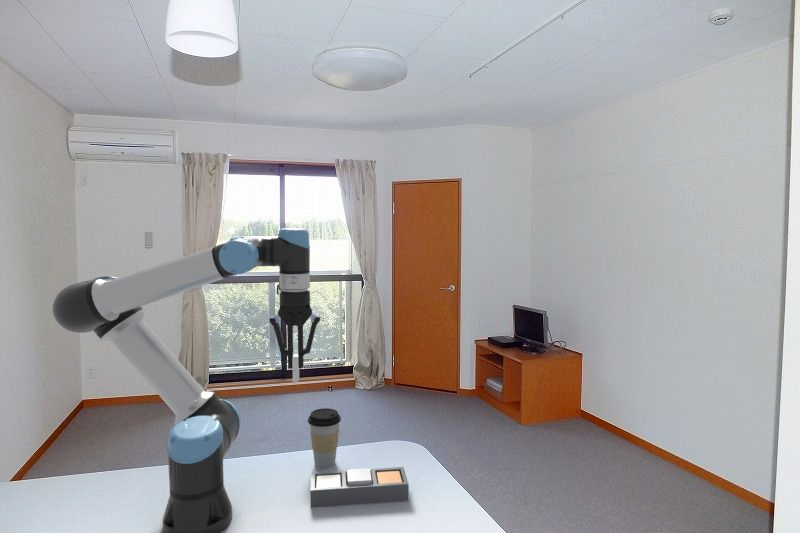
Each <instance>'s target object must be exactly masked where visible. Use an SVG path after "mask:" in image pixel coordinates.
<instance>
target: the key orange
mask: <svg viewBox="0 0 800 533" xmlns="http://www.w3.org/2000/svg"><path fill="white" fill-rule="evenodd" d="M400 482H402V480H401V476H400V472H399V471H389V472H377V484H385V483H400Z"/></svg>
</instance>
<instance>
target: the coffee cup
mask: <svg viewBox="0 0 800 533" xmlns="http://www.w3.org/2000/svg"><path fill="white" fill-rule="evenodd" d="M341 420H342V418H341V415H340V414H339V412H338V410H336V409H334V408H328V407H326V408H319V409H318V408H317V409H315V410H313V411H311V413H310V415H309V416H308V417H307V423H308V424H309V426H310V439H311V449H312V453H313V461H314V466H315V467H316V468H320V469H328V468H330V467H331V468H332V467H333V466H334V465H335V463H336V459H337V448H338V445H339V444H338V442H339V434H340V432H339V431H340V422H341Z"/></svg>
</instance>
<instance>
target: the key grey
mask: <svg viewBox="0 0 800 533" xmlns="http://www.w3.org/2000/svg"><path fill="white" fill-rule="evenodd" d="M370 469H371V468H370V467H369V468H354V469H351V468H350V469H347V484H348V486H354V485H369V484H372V479H371V472H370Z"/></svg>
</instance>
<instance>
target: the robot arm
mask: <svg viewBox="0 0 800 533" xmlns="http://www.w3.org/2000/svg"><path fill="white" fill-rule="evenodd" d="M310 248H311V246H310V233H309V231H308V230H307V229H305V228H280V229H279V230H278V235H276V236H257V235H256V236H251V235H243V236H242V235H241V236H239V235H238V236H233V237H231V238H230V239H229V240H228V241H227V242H224V243H221V244H219V245H216V246H212V247H209V248H205V249H202V250H200V251H196V252H194V253H190V254H188V255H183V256H181V257H179V258H178V257H177V258H175V259H172V260H170V261H169V260H168V261H166V262H162V263H160V264H157V265H154V266H150V267H148V268H144V269H142V270H137V271H136V272H132V273H128V274H126V275H123V276H121V277H118V276H98V277H95V278H93V279H90V280H89V279H88V280H85V281H81V282H75V283H72V284H69V285H68V286H65V287H64V288H63V289H61V290H60V291H59V292H58V293H57V295H56V296H55V298H54V299H53V303H52V313H53V314H52V315H53V317H54V320H55V321H56V322H57V324H58V325H59V326H60V327H62V328H63V329H65V330H67V331H69V332H72V333H78V334H79V333H80V334H81V333H83V334H84V333H90V332H94V334H95V335H96V336H97V337H98V338H99V339H100V340H101V341H104V342H105V341H107V342H111V343H113V345H114V346H115V347H116V348H117V349H118V350H119V351H120V353H121V354H122V355H123V356H124V357H125V358H126V359H127V360H128V362H129V363H130V364H131V365H132V366H133V367H134V369H135V370H136V371H137V372H138V373H139V374H140V375H141V377H142V378H143V379H144V380H145V381H146V382H147V384H148V385H149V386H150V387H151V388H152V389H153V390H154V391H155V393H156V394H157V395H158V396H159V397H160V398H161V400H163V402H164V403H165V404H166V405H167V406H168V408H169V409H170V410H171V411H172V412H173V413H174V416H175V420H174V425H173V427H172V428H171V429H170V431H169V433H168V438H167V439H168V440H167V446H166V447H167V448H166V449H167V457H168V458H167V460H168V462H167V463H168V477H169V478H168V480H169V482H168V483H169V497H168V501H167V504H166V507H165V509H164V513H163V517H162V533H221V532H222V531H223V530H224V529H226V528H227V527H228V526H229V524H230V523H231V522H232V519H233V505H232V502H231V500H230V498H229V495H228V492H227V490H226V488H225V483H224V458H225V456H226V455H227V453H228V451H229V449H230V448H231V445H232V444H233V443H234V442H235V440H236V438H237V437H238V435H239V432H240V429H241V423H242V421H241V414H240V412H239V410H238V408H237V407H236V406H235V404H233V403H232V402H231V401H229V400H226V399H221V398H220V397H219V396H218V395H216V392H214V391H207V390H204V388H202V386H201V385H200V384H199V383H198V381H197V380H196V379H195V378H194V377H193V376H192V374H191V373H190V372H189V371H188V370H187V368H185V367H184V365H183V364H182V363H181V361H179V359H178V358H177V357H176V356H175V355H174V353H172V351H171V350H170V349H169V348H168V346H167V345H166V344H165V343H164V342H163V341H162V339H161V338H160V337H159V336H158V335H157V334H156V333H155V331H154V330H153V329H152V328H151V327H150V326H149V324H147V322H146V321H145V319H144V315H145V310H144V309H143V306H146V305H149V304H152V303H155V302H159V301H161V300H163V299H167V298H170V297H173V296H177V295H179V294H182V293H186V292H188V291H191V290H194V289H197V288H200V287H203V286H206V285H209V284H211V283H214V282H215V283H216V282H218V281H222V280H225V279H227V278H230V277H234V276H237V275H243V274H246V273H249V272H251V271H252V270H253V269H255V268H257V267H278V268H279V273H278V274H279V289H280V291H279V308H278V311H277V313H276V314H275V315H271V317H269V319H268V320H269V323H270V325H272V327H273V330H274V333H275V337H276V341H277V345H278V348H279V352H280V354H281V355H285V356H287V367H288V369H292V383H299V382H300V369H303V368H304V356H305V355H306V354H307V355H308V354H310V353H311V350H312V345H313V342H314V336H315V332H316V328H317V325H318V324H319V322H320V321H321V316H320V315H319V314H315V313H314V312H313V310H312V307H311V291H310V290H309V289H310V286H311V278H310V277H311V271H310V270H311V269H310V266H311V265H310V264H311V262H310V261H311V258H310V256H311V254H310V253H311V249H310ZM309 319H310V322H311V324H310V329H309V333H308V338H307V340H306V341H307V342H306V346H305V348H304V325H305V324H306V323H307V322H308V320H309ZM280 320H282V321H283V323H284V324H285V325H286V326H287V327H286V329H287V347H286V344H285V340H284V337H283V332H282V329H281V325H280ZM294 327H297V353H294Z"/></svg>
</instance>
